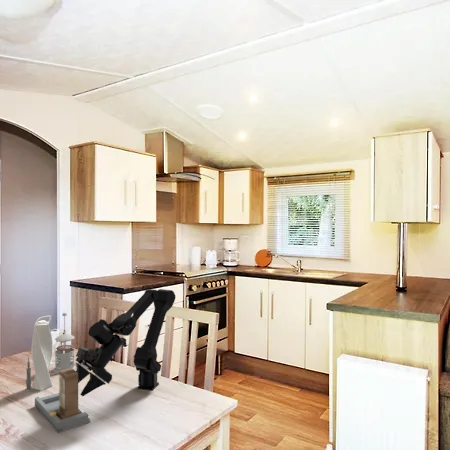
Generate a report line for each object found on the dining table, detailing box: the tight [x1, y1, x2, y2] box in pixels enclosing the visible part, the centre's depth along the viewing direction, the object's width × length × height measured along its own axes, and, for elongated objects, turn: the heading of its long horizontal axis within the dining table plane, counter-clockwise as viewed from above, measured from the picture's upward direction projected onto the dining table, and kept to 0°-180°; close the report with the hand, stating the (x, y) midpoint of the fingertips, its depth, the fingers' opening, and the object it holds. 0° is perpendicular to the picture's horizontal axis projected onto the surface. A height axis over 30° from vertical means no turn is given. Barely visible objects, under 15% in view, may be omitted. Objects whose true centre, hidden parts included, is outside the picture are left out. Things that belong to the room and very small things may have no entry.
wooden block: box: [56, 368, 82, 420], centre depth 129 cm, size 6×6×14 cm
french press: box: [52, 312, 77, 374], centre depth 176 cm, size 10×12×25 cm
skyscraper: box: [25, 314, 53, 394], centre depth 155 cm, size 8×8×28 cm
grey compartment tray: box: [34, 392, 91, 434], centre depth 133 cm, size 24×10×4 cm, turn 41°
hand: (76, 391), depth 131 cm, fingers open, 9 cm apart
